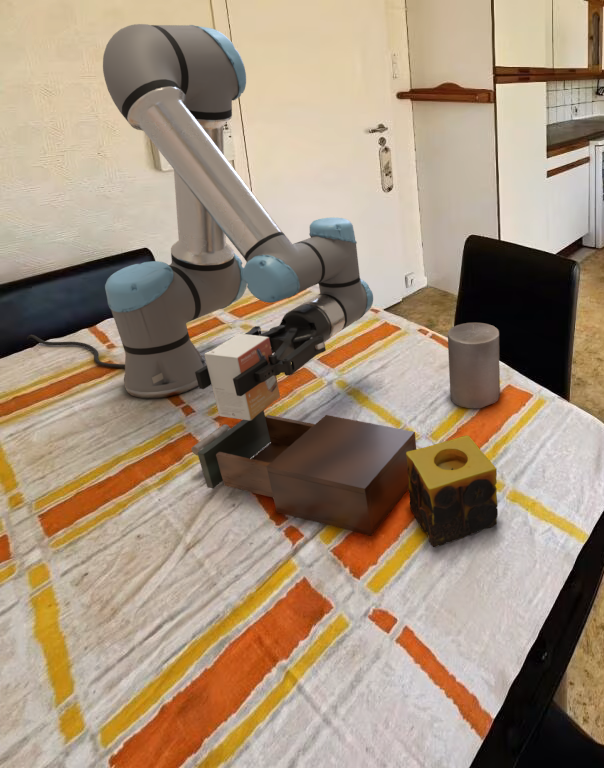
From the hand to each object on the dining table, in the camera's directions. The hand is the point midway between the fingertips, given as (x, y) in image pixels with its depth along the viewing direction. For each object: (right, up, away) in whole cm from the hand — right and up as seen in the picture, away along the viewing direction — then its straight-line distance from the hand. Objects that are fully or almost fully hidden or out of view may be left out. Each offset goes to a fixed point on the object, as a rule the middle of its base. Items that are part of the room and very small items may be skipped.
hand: (218, 384), depth 89 cm
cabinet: (+17, -17, +7) cm, 25 cm away
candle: (+33, -19, +2) cm, 39 cm away
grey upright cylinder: (+35, -3, +33) cm, 48 cm away
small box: (+2, -4, +8) cm, 9 cm away
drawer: (+2, -13, +11) cm, 17 cm away
